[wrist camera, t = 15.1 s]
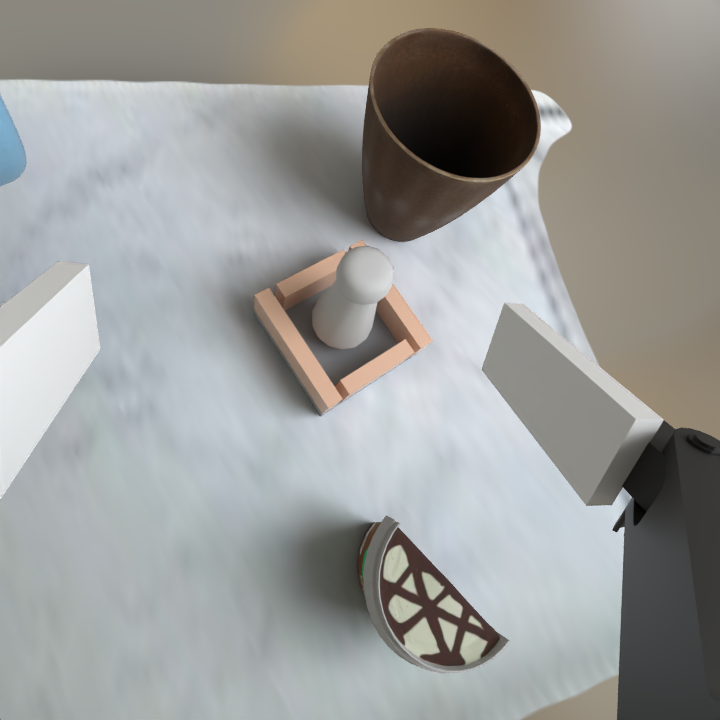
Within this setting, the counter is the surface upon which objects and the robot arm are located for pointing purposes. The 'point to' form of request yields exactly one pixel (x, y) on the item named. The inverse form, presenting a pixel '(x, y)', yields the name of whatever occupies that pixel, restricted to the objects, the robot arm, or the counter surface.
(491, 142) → the plant pot
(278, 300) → the socket board
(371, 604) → the food container
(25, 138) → the counter surface
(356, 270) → the salt shaker
